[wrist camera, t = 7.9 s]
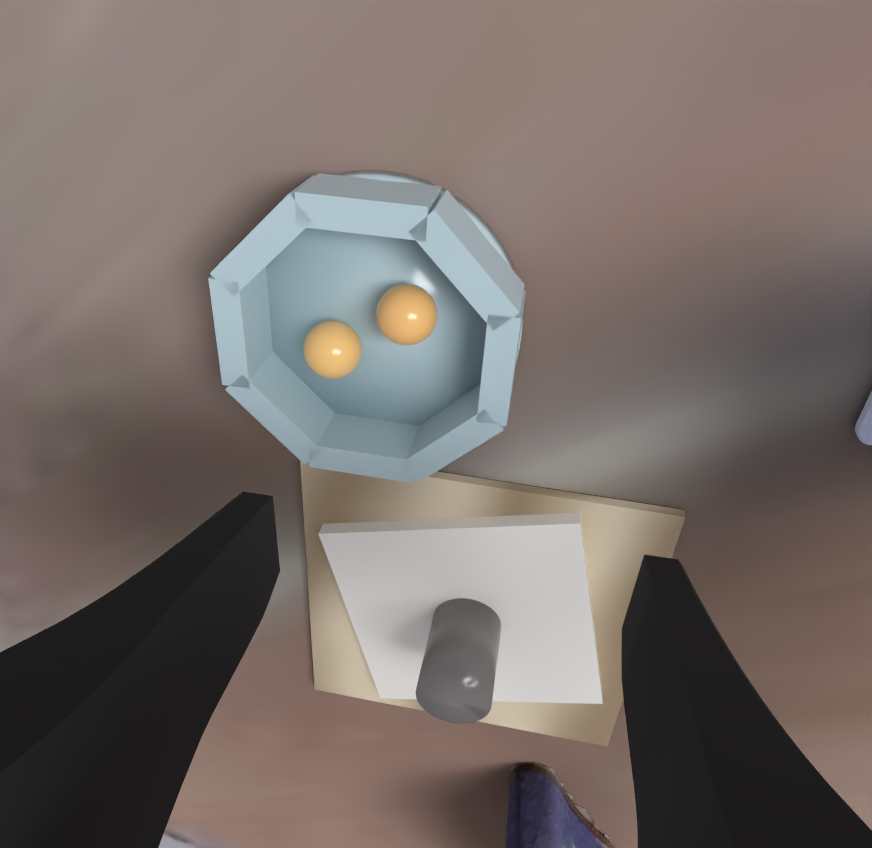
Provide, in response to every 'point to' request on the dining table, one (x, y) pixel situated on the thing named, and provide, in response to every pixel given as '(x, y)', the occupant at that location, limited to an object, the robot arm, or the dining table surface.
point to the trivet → (476, 497)
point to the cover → (470, 609)
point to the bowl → (371, 325)
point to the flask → (546, 813)
